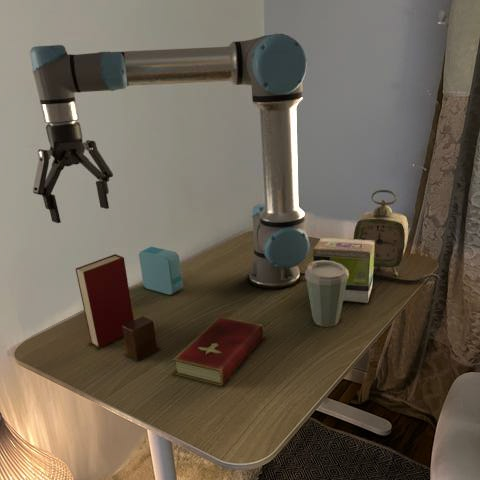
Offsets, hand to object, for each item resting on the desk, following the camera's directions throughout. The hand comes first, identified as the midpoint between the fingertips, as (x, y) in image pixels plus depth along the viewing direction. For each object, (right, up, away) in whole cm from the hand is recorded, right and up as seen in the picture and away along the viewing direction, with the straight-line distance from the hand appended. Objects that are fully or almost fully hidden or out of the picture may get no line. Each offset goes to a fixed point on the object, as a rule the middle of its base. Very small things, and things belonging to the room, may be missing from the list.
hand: (81, 214), depth 127 cm
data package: (+16, -17, +28) cm, 36 cm away
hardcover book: (+35, -34, -7) cm, 49 cm away
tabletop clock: (+81, -11, +30) cm, 87 cm away
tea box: (+68, -19, +18) cm, 73 cm away
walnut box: (+16, -34, -4) cm, 37 cm away
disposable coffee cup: (+61, -26, +5) cm, 66 cm away
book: (+8, -22, -3) cm, 23 cm away
